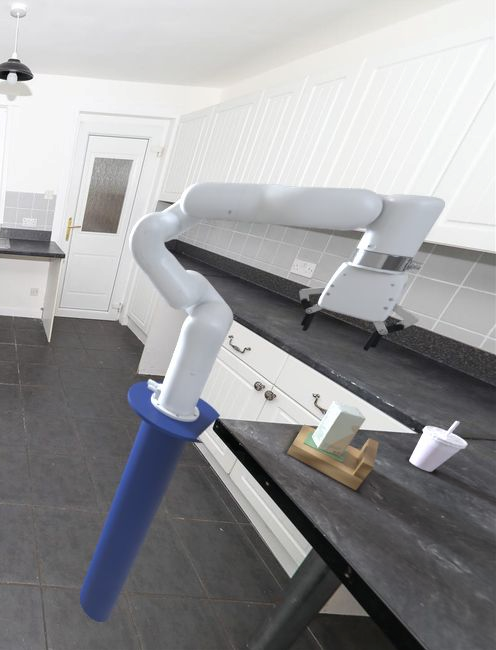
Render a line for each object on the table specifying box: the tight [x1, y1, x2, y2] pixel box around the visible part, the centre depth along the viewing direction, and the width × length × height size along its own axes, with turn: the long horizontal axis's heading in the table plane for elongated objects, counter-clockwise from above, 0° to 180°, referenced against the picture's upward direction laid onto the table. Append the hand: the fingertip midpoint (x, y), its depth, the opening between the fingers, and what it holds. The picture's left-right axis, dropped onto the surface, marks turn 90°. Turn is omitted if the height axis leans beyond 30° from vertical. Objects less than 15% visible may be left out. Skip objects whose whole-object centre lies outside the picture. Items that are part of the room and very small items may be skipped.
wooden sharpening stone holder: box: [286, 423, 380, 491], centre depth 79 cm, size 12×13×7 cm
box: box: [312, 400, 366, 456], centre depth 77 cm, size 5×4×11 cm
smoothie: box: [409, 420, 469, 473], centre depth 78 cm, size 6×6×14 cm
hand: (333, 338), depth 71 cm, fingers open, 9 cm apart
